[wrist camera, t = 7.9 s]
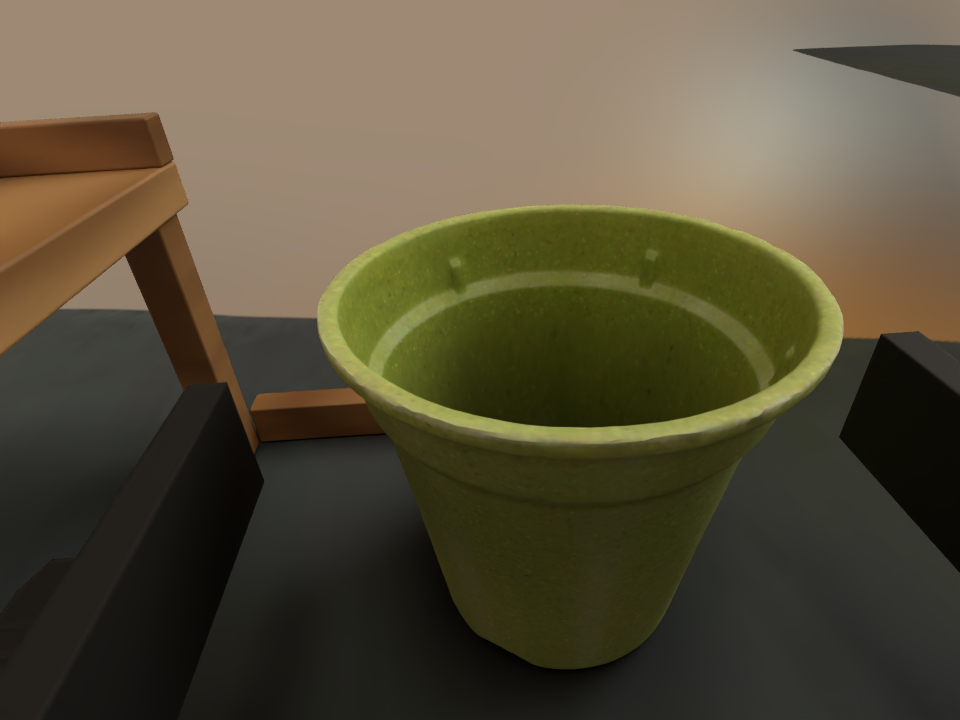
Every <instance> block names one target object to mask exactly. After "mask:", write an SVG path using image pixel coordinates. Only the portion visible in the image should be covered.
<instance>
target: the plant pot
mask: <svg viewBox="0 0 960 720" xmlns="http://www.w3.org/2000/svg"><path fill="white" fill-rule="evenodd" d="M317 327H318V333H319V337H320V340H321V343H322V346H323V350H324V352H325V354H326V357H327V359H328V360H329V362H330V364H331V365H332V367H333V368H334V370H335V371H336V372H337V374H338V375H339V376H340V377H341V378H342V380H343V381H344V382H345V383H346V384H347V385H348V386H349V387H350V388H351V389H352V390H353V391H354V392H356V393H357V394H358V395H359V396H361V397H362V398H363V399H364V400H365V402H366V405H367V407H368V409H369V411H370V412H371V414H372V416H373V417H374V419H375V420H376V422H377V423H378V425H379V426H380V427H381V428H382V429H383V431H384V432H385V433H386V434H387V435H388V436H389V437H390V438H391V439H392V441H393V444H394V446H395V449H396V451H397V454H398V456H399V458H400V461H401V463H402V466H403V469H404V471H405V474H406V476H407V479H408V481H409V484H410V487H411V489H412V492H413V494H414V497H415V499H416V502H417V505H418V507H419V510H420V513H421V515H422V518H423V521H424V523H425V526H426V529H427V531H428V534H429V537H430V539H431V542H432V545H433V548H434V550H435V553H436V556H437V559H438V562H439V564H440V567H441V570H442V573H443V575H444V578H445V580H446V583H447V585H448V588H449V591H450V594H451V597H452V599H453V601H454V603H455V605H456V607H457V609H458V610H459V612H460V614H461V615H462V617H463V618H464V620H465V621H466V623H467V624H468V625H469V626H470V628H471V629H472V630H473V631H474V632H475V633H476V634H478V635H479V636H480V637H482V638H484V639H487V640H489V641H490V642H492V643H494V644H496V645H498V646H500V647H502V648H504V649H505V650H507V651H509V652H511V653H513V654H515V655H517V656H519V657H520V658H522V659H524V660H526V661H528V662H530V663H531V664H533V665H536V666H540V667H545V668H552V669H580V668H588V667H593V666H597V665H602V664H606V663H609V662H611V661H614V660H616V659H618V658H620V657H622V656H624V655H626V654H628V653H629V652H631V651H632V650H634V649H636V648H637V647H639V646H640V645H641V644H642V643H643V642H644V641H645V640H646V639H647V638H648V637H649V636H650V635H651V634H652V633H653V632H654V630H655V629H656V627H657V626H658V624H659V623H660V621H661V620H662V618H663V616H664V614H665V612H666V611H667V609H668V607H669V605H670V603H671V601H672V598H673V596H674V594H675V592H676V590H677V588H678V586H679V584H680V582H681V580H682V577H683V575H684V573H685V571H686V569H687V567H688V564H689V562H690V560H691V558H692V556H693V554H694V552H695V550H696V548H697V546H698V544H699V542H700V540H701V538H702V536H703V534H704V532H705V530H706V528H707V526H708V524H709V522H710V520H711V518H712V516H713V514H714V512H715V510H716V508H717V506H718V504H719V502H720V500H721V498H722V496H723V494H724V492H725V490H726V488H727V486H728V484H729V482H730V480H731V478H732V476H733V474H734V472H735V470H736V468H737V466H738V464H739V462H740V460H741V458H742V457H743V456H744V455H746V454H747V453H748V452H749V451H751V450H752V449H753V448H754V447H755V446H756V445H757V444H758V443H759V442H760V441H761V439H762V438H763V437H764V436H765V434H766V433H767V432H768V430H769V429H770V427H771V426H772V424H773V423H774V421H775V419H776V418H778V417H779V416H781V415H782V414H784V413H786V412H787V411H789V410H790V409H792V408H793V407H795V406H796V405H797V404H798V403H799V402H800V401H802V400H803V399H804V398H805V397H806V396H808V395H809V394H810V393H811V392H812V391H813V390H814V389H815V388H816V387H817V385H818V384H819V383H820V382H821V381H822V380H823V378H824V377H825V376H826V374H827V372H828V371H829V369H830V367H831V365H832V363H833V362H834V360H835V358H836V356H837V354H838V352H839V350H840V346H841V342H842V338H843V316H842V314H841V311H840V308H839V305H838V304H837V302H836V300H835V297H834V296H833V295H831V293H830V291H829V290H828V288H827V287H826V286H825V284H824V283H823V281H822V280H821V279H820V278H819V277H818V276H817V275H816V274H815V272H813V271H812V270H811V269H810V268H809V267H808V266H807V265H805V264H804V263H803V262H801V261H799V260H798V259H796V258H795V257H793V256H792V255H791V254H789V253H787V252H785V251H784V250H782V249H779V248H776V247H774V246H772V245H770V244H769V243H768V242H766V241H764V240H762V239H759V238H757V237H754V236H752V235H749V234H748V233H746V232H742V231H739V230H735V229H729V228H727V227H725V226H722V225H720V224H716V223H714V222H711V221H707V220H703V219H699V218H695V217H691V216H685V215H680V214H673V213H668V212H662V211H656V210H651V209H642V208H633V207H619V206H609V205H541V206H525V207H516V208H506V209H499V210H491V211H486V212H476V213H472V214H465V215H461V216H457V217H452V218H448V219H445V220H440V221H437V222H434V223H432V224H429V225H424V226H421V227H419V228H417V229H414V230H410V231H407V232H405V233H402V234H400V235H398V236H395V237H393V238H391V239H389V240H388V241H386V242H384V243H382V244H379V245H376V246H374V247H372V248H371V249H368V250H367V251H366V252H365V253H363V254H361V255H360V256H358V257H357V258H355V259H354V260H353V261H351V262H350V263H349V264H348V265H346V266H345V267H344V268H343V269H342V270H341V271H340V272H339V274H337V276H336V277H335V278H334V279H333V280H332V281H331V283H330V284H329V286H328V288H327V289H326V290H325V292H324V293H323V295H322V297H321V300H320V302H319V305H318V318H317Z"/></svg>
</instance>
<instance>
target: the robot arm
mask: <svg viewBox="0 0 960 720" xmlns="http://www.w3.org/2000/svg"><path fill="white" fill-rule="evenodd" d="M839 438H840V439H841V440H842V441H843V442H844V443H845V444H846V445H847V447H848V448H849V449H850V450H851V451H852V452H853V453H854V454H855V456H856V457H857V458H858V459H859V460H860V461H861V462H862V463H863V465H864V466H865V467H866V468H867V469H868V470H869V471H870V472H871V474H872V475H873V476H874V477H875V478H876V479H877V480H878V481H879V483H880V484H881V485H882V486H883V487H884V488H885V489H886V490H887V492H888V493H889V494H890V495H891V496H892V497H893V498H894V499H895V501H896V502H897V503H898V504H899V505H900V506H901V507H902V508H903V509H904V511H905V512H906V513H907V514H908V515H909V516H910V517H911V518H912V520H913V521H914V522H915V523H916V524H917V525H918V526H919V527H920V529H921V530H922V531H923V532H924V533H925V534H926V535H927V536H928V538H929V539H930V540H931V541H932V542H933V543H934V544H935V545H936V547H937V548H938V549H939V550H940V551H941V552H942V553H943V554H944V556H945V557H946V558H947V559H948V560H949V561H950V562H951V563H952V565H953V566H954V567H955V568H956V569H957V570H958V571H959V572H960V361H959V360H958V359H956V358H955V357H954V356H952V355H951V354H949V353H948V352H947V351H945V350H944V349H942V348H941V347H940V346H938V345H937V344H935V343H934V342H933V341H931V340H930V339H928V338H927V337H925V336H924V335H923V334H921V333H920V332H919V331H916V332H904V333H891V334H890V333H889V334H881V335H880V338H879V340H878V343H877V345H876V348H875V350H874V353H873V355H872V358H871V360H870V362H869V365H868V367H867V370H866V372H865V375H864V377H863V380H862V382H861V385H860V387H859V389H858V392H857V394H856V397H855V399H854V402H853V404H852V407H851V409H850V411H849V414H848V416H847V419H846V421H845V424H844V426H843V429H842V431H841V434H840V436H839ZM263 483H264V479H263V477H262V474H261V471H260V469H259V466H258V463H257V461H256V458H255V455H254V453H253V450H252V447H251V445H250V442H249V439H248V437H247V434H246V431H245V429H244V426H243V423H242V421H241V418H240V415H239V413H238V410H237V407H236V405H235V402H234V399H233V397H232V394H231V391H230V389H229V386H228V383H227V382H222V383H209V384H195V385H188V386H187V387H186V389H185V390H184V392H183V394H182V395H181V397H180V398H179V400H178V401H177V403H176V404H175V406H174V407H173V409H172V410H171V412H170V414H169V415H168V417H167V418H166V420H165V421H164V423H163V424H162V426H161V427H160V429H159V431H158V432H157V434H156V435H155V437H154V438H153V440H152V441H151V443H150V444H149V446H148V447H147V449H146V451H145V452H144V454H143V455H142V457H141V458H140V460H139V461H138V463H137V464H136V466H135V467H134V469H133V471H132V472H131V474H130V475H129V477H128V478H127V480H126V481H125V483H124V484H123V486H122V487H121V489H120V491H119V492H118V494H117V495H116V497H115V498H114V500H113V501H112V503H111V504H110V506H109V507H108V509H107V511H106V512H105V514H104V515H103V517H102V518H101V520H100V521H99V523H98V524H97V526H96V527H95V529H94V531H93V532H92V534H91V535H90V537H89V538H88V540H87V541H86V543H85V544H84V546H83V547H82V549H81V551H80V552H79V554H78V555H77V557H76V558H64V559H52V560H51V561H50V562H49V563H48V564H46V565H45V566H44V567H43V568H42V569H41V570H40V571H39V572H37V573H36V574H35V575H34V576H33V577H32V578H31V579H30V580H28V581H27V582H26V583H25V584H24V585H23V586H22V587H21V588H19V589H18V590H17V591H16V593H15V594H14V596H13V597H12V598H11V600H10V601H9V603H8V604H7V605H6V607H5V608H4V610H3V611H2V613H1V614H0V720H177V718H178V716H179V713H180V710H181V708H182V705H183V702H184V699H185V697H186V694H187V691H188V688H189V686H190V683H191V680H192V677H193V675H194V672H195V669H196V667H197V664H198V661H199V658H200V656H201V653H202V650H203V647H204V645H205V642H206V639H207V636H208V634H209V631H210V628H211V626H212V623H213V620H214V617H215V615H216V612H217V609H218V606H219V604H220V601H221V598H222V595H223V593H224V590H225V587H226V584H227V582H228V579H229V576H230V574H231V571H232V568H233V565H234V563H235V560H236V557H237V554H238V552H239V549H240V546H241V543H242V541H243V538H244V535H245V533H246V530H247V527H248V524H249V522H250V519H251V516H252V513H253V511H254V508H255V505H256V502H257V500H258V497H259V494H260V492H261V489H262V486H263Z"/></svg>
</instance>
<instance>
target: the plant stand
mask: <svg viewBox="0 0 960 720" xmlns="http://www.w3.org/2000/svg"><path fill="white" fill-rule="evenodd" d="M172 160H173V155H172V152H171V149H170V147H169V144H168V141H167V138H166V135H165V132H164V129H163V126H162V123H161V120H160V117H159V115H158V114H157V113H141V114H125V115H124V114H123V115H109V116H93V117H76V118H60V119H44V120H29V121H14V122H0V356H1V355H2V354H3V353H5V352H6V351H7V350H8V349H10V348H11V347H12V346H13V345H15V344H16V343H17V342H18V341H20V340H21V339H22V338H23V337H24V336H26V335H27V334H28V333H29V332H31V331H32V330H33V329H34V328H36V327H37V326H38V325H39V324H41V323H42V322H43V321H44V320H45V319H47V318H48V317H49V316H50V315H52V314H53V313H54V312H55V311H57V310H58V309H59V308H60V307H62V306H63V305H64V304H65V303H66V302H67V301H69V300H70V299H71V298H73V297H74V296H75V295H76V294H78V293H79V292H80V291H81V290H83V289H84V288H85V287H86V286H88V285H89V284H90V283H91V282H92V281H94V280H95V279H96V278H97V277H99V276H100V275H101V274H102V273H104V272H105V271H106V270H107V269H108V268H110V267H111V266H112V265H114V264H115V263H116V262H117V261H118V260H120V259H121V258H122V257H123V256H126V258H127V261H128V263H129V266H130V268H131V270H132V273H133V275H134V277H135V280H136V282H137V284H138V286H139V289H140V291H141V293H142V296H143V298H144V300H145V302H146V305H147V307H148V309H149V312H150V314H151V316H152V319H153V321H154V323H155V326H156V328H157V330H158V333H159V335H160V337H161V339H162V342H163V344H164V346H165V349H166V351H167V353H168V356H169V358H170V360H171V362H172V365H173V367H174V369H175V372H176V374H177V376H178V379H179V381H180V383H181V386H182V388H183V390H185V389H186V387H187V386H188V385H195V384H209V383H222V382H227V383H228V386H229V389H230V391H231V394H232V397H233V399H234V402H235V405H236V407H237V410H238V413H239V415H240V418H241V421H242V423H243V426H244V429H245V431H246V434H247V437H248V439H249V442H250V445H251V447H252V450H253V453H254V454H255V451H256V449H257V447H258V444H259V440H258V437H257V435H256V432H255V429H254V426H253V424H252V421H251V418H250V415H249V413H248V410H247V407H246V404H245V402H244V399H243V396H242V393H241V391H240V388H239V385H238V382H237V380H236V377H235V374H234V371H233V369H232V366H231V363H230V360H229V358H228V355H227V352H226V349H225V346H224V344H223V341H222V338H221V335H220V333H219V330H218V327H217V324H216V322H215V319H214V316H213V313H212V311H211V308H210V305H209V302H208V300H207V297H206V294H205V292H204V289H203V286H202V283H201V280H200V278H199V275H198V272H197V269H196V267H195V264H194V261H193V259H192V256H191V253H190V250H189V247H188V245H187V242H186V239H185V236H184V234H183V231H182V228H181V225H180V223H179V220H178V217H177V215H176V214H177V213H178V212H179V211H180V210H181V209H183V208H184V207H185V206H186V205H188V199H187V197H186V193H185V191H184V188H183V185H182V182H181V179H180V176H179V173H178V171H177V167H176V165H175V163H174V162H172ZM250 413H251V415H252V418H253V421H254V424H255V427H256V429H257V432H258V435H259V438H260V440H261V441H262V442H263V441H278V440H293V439H307V438H322V437H337V436H351V435H366V434H380V433H385V432H384V431H383V429H382V428H381V427H380V426H379V425H378V423H377V422H376V420H375V419H374V417H373V416H372V414H371V412H370V411H369V409H368V407H367V405H366V402H365V400H364V399H363V398H362V397H361V396H359V395H358V394H357V393H356V392H354V391H353V390H352V389H351V388H340V389H326V390H311V391H296V392H281V393H267V394H258V395H257V396H256V399H255V401H254V403H253V405H252V407H251V409H250Z"/></svg>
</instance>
